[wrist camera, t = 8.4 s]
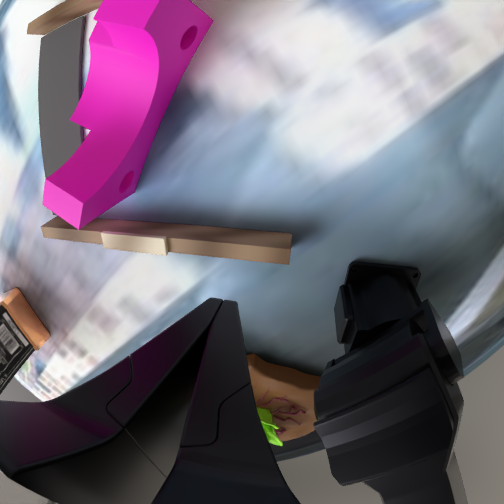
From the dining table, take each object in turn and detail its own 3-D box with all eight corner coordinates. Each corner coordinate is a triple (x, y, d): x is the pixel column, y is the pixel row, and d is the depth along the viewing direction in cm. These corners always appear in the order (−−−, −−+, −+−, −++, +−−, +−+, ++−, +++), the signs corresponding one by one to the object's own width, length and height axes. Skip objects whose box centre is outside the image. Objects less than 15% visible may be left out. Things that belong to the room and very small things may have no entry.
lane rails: (302, -38, 11) (302, -56, 8) (290, 248, 22) (288, 268, 19) (45, 24, 14) (25, 23, 11) (58, 227, 25) (41, 239, 22)
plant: (302, 435, 38) (296, 495, 28) (185, 411, 39) (164, 468, 30) (354, 368, 28) (360, 457, 18) (182, 332, 29) (142, 417, 20)
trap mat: (85, 17, 14) (82, 16, 13) (94, 214, 23) (91, 216, 23) (44, 38, 14) (41, 38, 14) (55, 213, 24) (52, 214, 24)
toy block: (147, 3, 14) (87, -22, 7) (214, 21, 14) (169, -15, 8) (83, 162, 21) (23, 189, 14) (135, 191, 22) (78, 230, 15)
